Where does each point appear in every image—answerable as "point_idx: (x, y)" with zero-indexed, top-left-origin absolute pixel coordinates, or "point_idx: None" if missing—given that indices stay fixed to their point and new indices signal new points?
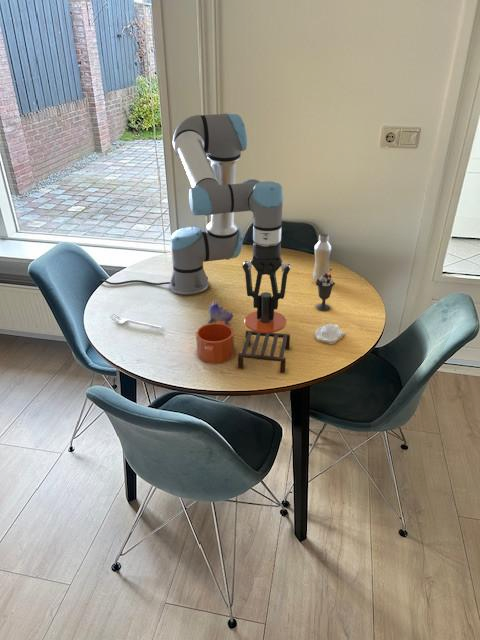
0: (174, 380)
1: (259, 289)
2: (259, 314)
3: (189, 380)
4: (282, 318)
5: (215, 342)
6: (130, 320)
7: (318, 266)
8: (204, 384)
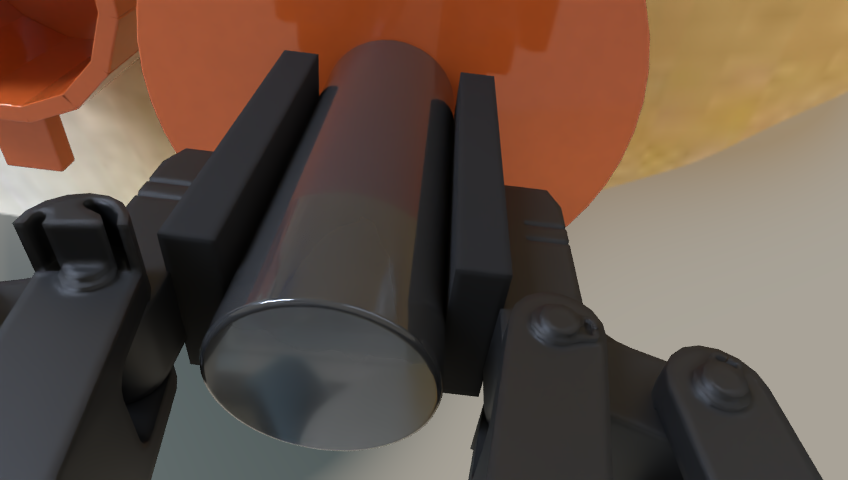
0: (5, 196)
1: (103, 369)
2: None
3: (71, 194)
4: (604, 50)
5: (37, 118)
6: None
7: None
8: None
